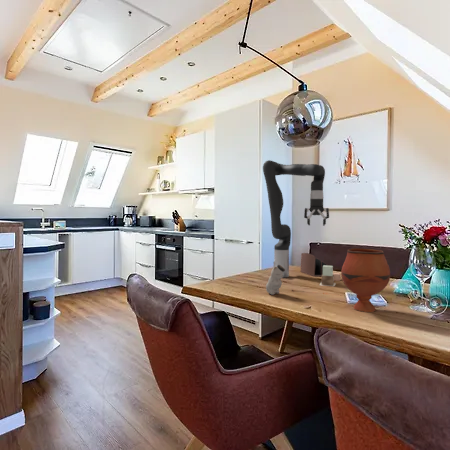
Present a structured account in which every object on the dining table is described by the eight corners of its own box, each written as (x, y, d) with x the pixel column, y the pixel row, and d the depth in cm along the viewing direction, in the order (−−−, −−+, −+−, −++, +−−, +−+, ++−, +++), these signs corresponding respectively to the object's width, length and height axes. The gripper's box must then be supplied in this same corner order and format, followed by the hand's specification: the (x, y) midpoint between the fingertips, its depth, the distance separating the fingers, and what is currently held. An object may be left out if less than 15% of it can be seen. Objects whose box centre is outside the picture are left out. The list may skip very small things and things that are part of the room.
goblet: (365, 318, 127) (366, 253, 126) (330, 305, 145) (331, 248, 144) (400, 312, 135) (401, 251, 134) (363, 301, 152) (364, 247, 152)
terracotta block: (331, 282, 194) (331, 274, 194) (329, 281, 199) (329, 272, 199) (340, 282, 194) (340, 274, 193) (338, 281, 199) (338, 272, 198)
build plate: (301, 287, 180) (301, 285, 180) (305, 282, 195) (305, 280, 195) (340, 291, 173) (340, 288, 173) (341, 284, 187) (341, 282, 187)
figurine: (273, 297, 160) (273, 266, 159) (262, 292, 169) (262, 263, 168) (288, 295, 164) (288, 264, 163) (276, 291, 173) (276, 262, 172)
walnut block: (321, 284, 182) (321, 275, 182) (322, 282, 187) (322, 273, 187) (333, 285, 180) (333, 276, 179) (333, 283, 185) (333, 274, 185)
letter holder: (313, 277, 211) (314, 255, 211) (300, 272, 230) (300, 251, 230) (328, 276, 213) (328, 254, 213) (313, 271, 233) (313, 251, 232)
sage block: (322, 275, 182) (322, 266, 182) (323, 274, 187) (323, 265, 186) (332, 276, 180) (332, 267, 180) (332, 274, 185) (332, 265, 185)
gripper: (303, 198, 198) (303, 225, 199) (328, 197, 193) (328, 225, 193) (305, 198, 205) (305, 225, 205) (329, 198, 200) (329, 225, 200)
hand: (316, 225), depth 199 cm, fingers open, 8 cm apart
